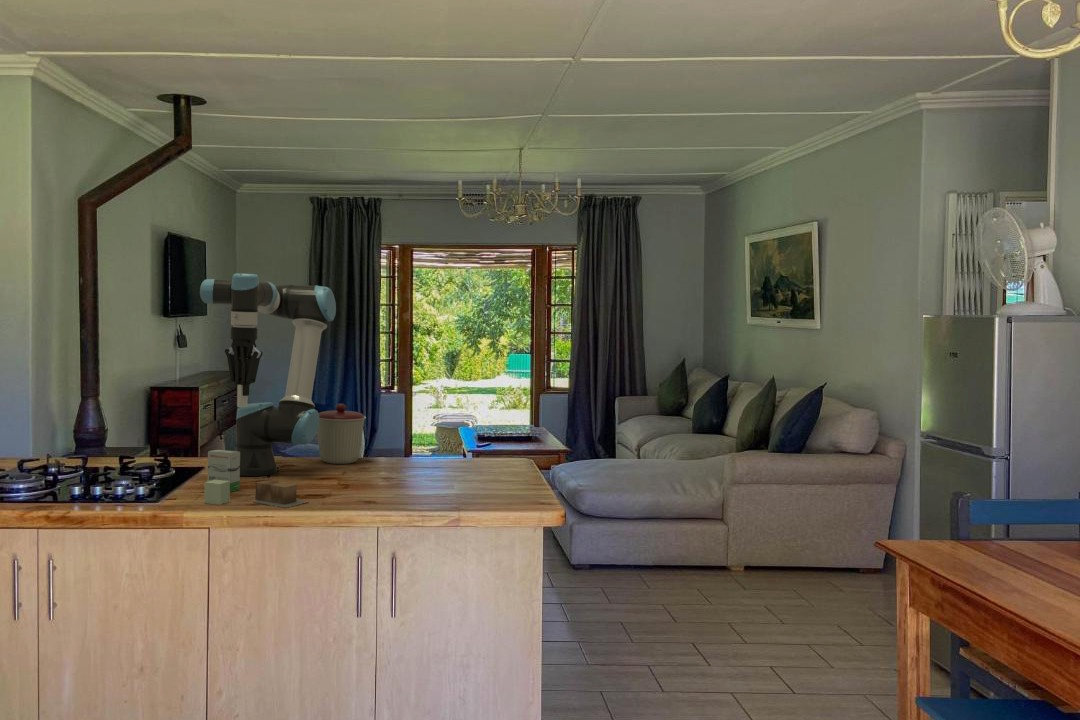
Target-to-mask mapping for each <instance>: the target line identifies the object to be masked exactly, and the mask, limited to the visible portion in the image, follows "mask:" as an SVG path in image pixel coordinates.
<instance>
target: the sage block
mask: <svg viewBox="0 0 1080 720" xmlns="http://www.w3.org/2000/svg"><path fill="white" fill-rule="evenodd" d="M230 493H231V492H230V481H224V480H211V481H208V482H207V481H205V482H204V495H203V499H204V504H206V503H207V505H210V504H211V505H217V506H218V505H219V506H221V505H223V503H224V504H227V503H229V502H230V501H231V500H230V497H231V495H230ZM226 502H227V503H226Z"/></svg>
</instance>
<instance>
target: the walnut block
mask: <svg viewBox="0 0 1080 720" xmlns="http://www.w3.org/2000/svg"><path fill="white" fill-rule="evenodd" d="M297 486H298V485H297V484H294V483H288V482H283V481H276V480H270V479H267V480H263V481H256V482H255V495H254V496H255V500H254V501H258V500H261V501H266V502H272V503H278V504H284V505H285V504H289V503H294V502H296V500H297V493H298V492H297V491H298V490H297V489H298V487H297Z"/></svg>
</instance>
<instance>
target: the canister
mask: <svg viewBox="0 0 1080 720" xmlns="http://www.w3.org/2000/svg"><path fill="white" fill-rule="evenodd" d="M346 408H347V406H346V404H344V403H337V404H336V405H335V410H326V411H325V410H324V411H321V412H318V413H319V427H318V431H317V443H318V444H317V445H318V450H319V451H318V452H319V457H320V459H321V461H323V462H324V463H327V464H333V465H344V464H345V465H346V464H348V465H349V464H352V463H355V462H357V460H358V459H359V456H360V451H361V445H362V438H363V433H364V427H365V426H364V424H365V420H366V419H367V417H366V415H364V414H363V413H362V412H358V411H354V410H353V411H352V410H346Z"/></svg>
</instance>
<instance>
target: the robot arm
mask: <svg viewBox="0 0 1080 720" xmlns="http://www.w3.org/2000/svg"><path fill="white" fill-rule="evenodd" d="M199 296H200V299H201V300H202V302H203V303H204V304H211V305H221V306H223V305H224V306H231V309H230V325H232V326H231V327H230V340H231V341H232V342H231V346H230V347H228V348H225V349H224V354H225V355H226V358H227V365H228V371H229V379H230V381H231V382H233V383H235V387H236V388H235V390H236V391H235V394H236V396H237V397H236V407H237V409H236V418H235V420H236V422H235V427H236V429H235V450H234V451H237V452H240V477H241V476H242V477H260V476H270V475H271V476H272V475H275V474H277V472H278V465H277V463H276V459H275V455H274V451H273V443H274V444H275V443H277V444H278V443H279V444H291V445H292V444H293V445H295V446H296V445H308V444H310V443H312V441H313V440H314V439H315V437H316V435H317V434H318V432H317V431H318V427H319V413H320V412H319V411H318V410H316V409H315V408H316V405H315V403H314V402H313V400H312V397H313V391H314V384H315V383H314V382H315V378H316V371H317V364H318V357H319V352H320V344H321V338H322V332H323V331H325V330H326V329H327V328H328V322H333V321H334V320H335V317H336V313H337V303H336V298H335V295H334V293H333V291H332V290H331V288H330V287H327V286H321V285H305V284H303V285H299V284H278V285H275V284H274V283H272V282H270V281H267V280H259V276H258V274H256V273H255V274H254V273H239V272H238V273H234V274H233V275H232V277H231V279H219V278H218V279H216V278H210V279H209V278H208V279H204V280H203V281H202V283H201V284H200V288H199ZM258 312H259V313H261V314H265V315H269V316H274V317H277V318H281V319H286V320H287V319H289V320H291V323H292V324H293V326H294V328H295V330H294V331H295V332H294V336H293V337H294V338H293V343H292V349H291V355H290V356H291V357H290V363H289V368H288V374H287V375H288V376H287V381H286V382H287V383H286V389H285V394H284V397H283V398H281V399H279V402H278V406H277V407H275V406H274V402H272V401H267V402H266V401H265V402H254V403H252V402H251V403H249V402H248V401H249V400H248V399H249V396H250V385H251V384H255V382H256V379H257V375H258V370H259V365H260V361H261V357H262V356H263V354H264V353H263V351H261V350H258V348H257V344H256V341H257V340H258V328H257V326H258V319H259V318H258V317H259V316H258V314H259V313H258Z"/></svg>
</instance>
